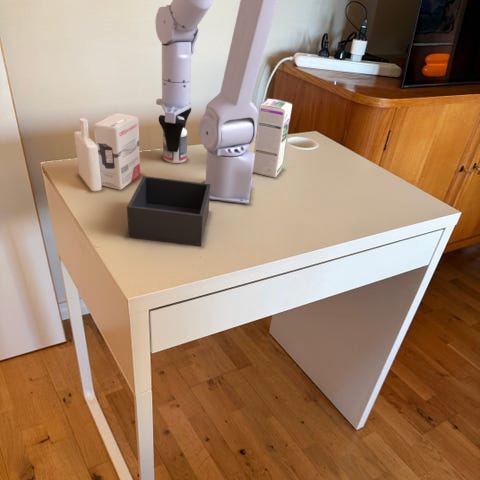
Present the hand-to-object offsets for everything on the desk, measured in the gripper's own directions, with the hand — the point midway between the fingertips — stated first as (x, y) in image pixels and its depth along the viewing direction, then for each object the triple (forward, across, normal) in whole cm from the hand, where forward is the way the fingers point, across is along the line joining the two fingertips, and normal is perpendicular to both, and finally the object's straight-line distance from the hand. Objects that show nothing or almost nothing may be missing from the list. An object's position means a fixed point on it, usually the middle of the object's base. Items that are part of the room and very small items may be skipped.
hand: (175, 146), depth 101 cm
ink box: (+3, +14, -9) cm, 17 cm away
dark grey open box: (+3, +29, +4) cm, 29 cm away
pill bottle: (+3, 0, 0) cm, 3 cm away
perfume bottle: (+3, +17, -14) cm, 22 cm away
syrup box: (+3, 0, +21) cm, 21 cm away
